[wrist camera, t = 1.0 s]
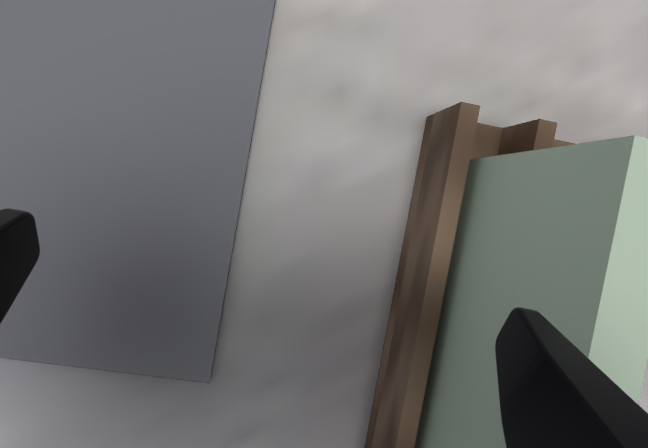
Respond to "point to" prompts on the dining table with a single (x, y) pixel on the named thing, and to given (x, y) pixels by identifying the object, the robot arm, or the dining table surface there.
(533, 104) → the dining table surface
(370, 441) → the rack
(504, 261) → the green rectangular slab
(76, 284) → the mat
